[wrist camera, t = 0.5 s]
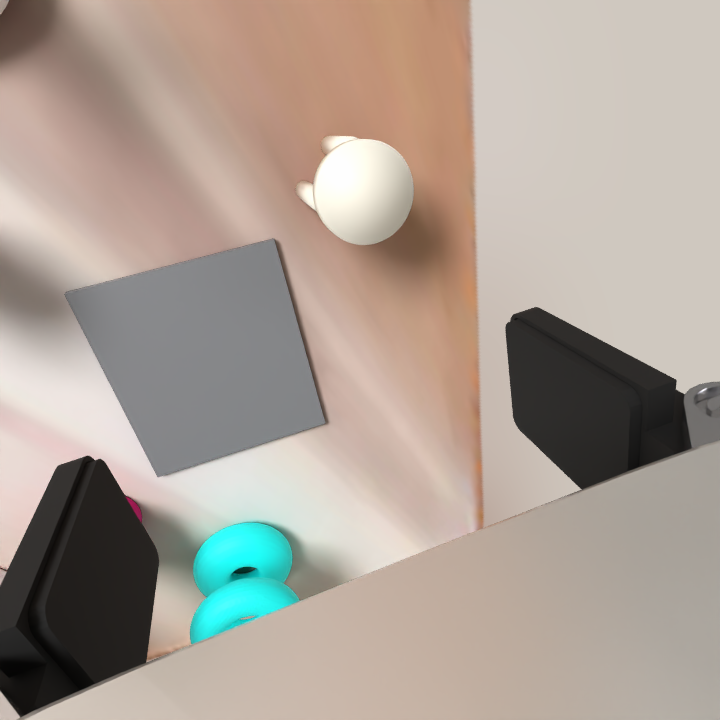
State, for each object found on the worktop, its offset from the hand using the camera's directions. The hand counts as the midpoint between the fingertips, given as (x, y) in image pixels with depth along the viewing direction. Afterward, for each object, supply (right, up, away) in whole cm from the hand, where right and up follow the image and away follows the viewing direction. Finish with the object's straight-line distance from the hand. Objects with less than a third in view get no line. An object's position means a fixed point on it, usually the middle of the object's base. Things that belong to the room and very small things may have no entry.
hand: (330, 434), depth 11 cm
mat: (-12, +1, +31) cm, 33 cm away
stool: (-1, +16, +27) cm, 32 cm away
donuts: (-12, -19, +41) cm, 46 cm away
